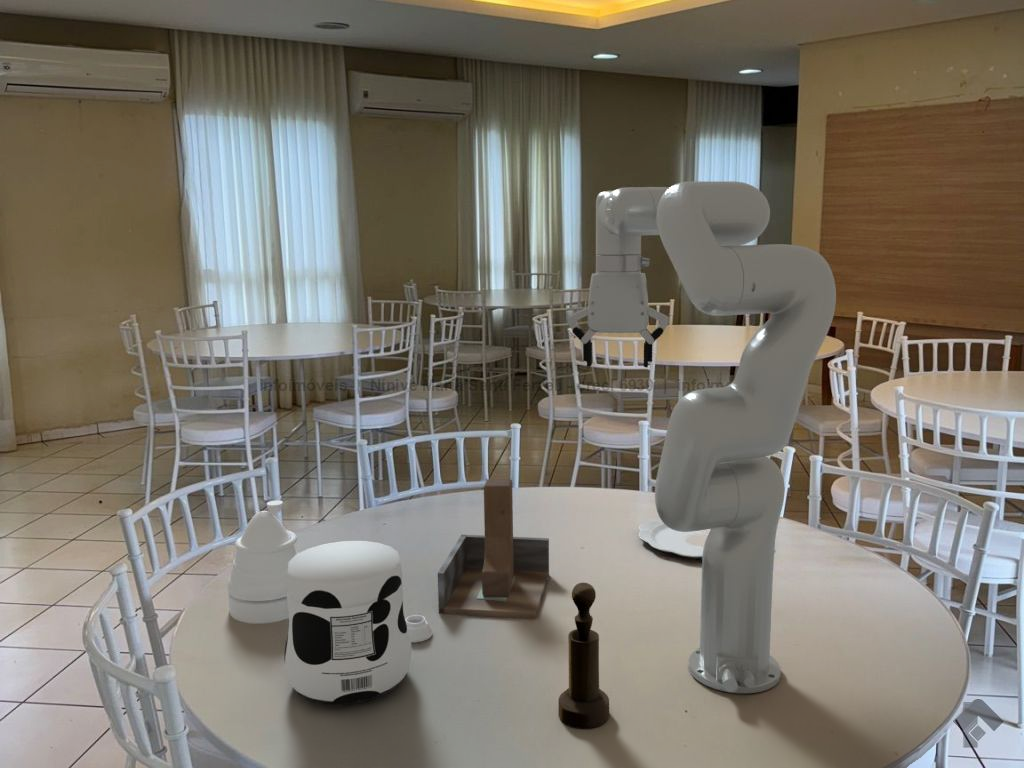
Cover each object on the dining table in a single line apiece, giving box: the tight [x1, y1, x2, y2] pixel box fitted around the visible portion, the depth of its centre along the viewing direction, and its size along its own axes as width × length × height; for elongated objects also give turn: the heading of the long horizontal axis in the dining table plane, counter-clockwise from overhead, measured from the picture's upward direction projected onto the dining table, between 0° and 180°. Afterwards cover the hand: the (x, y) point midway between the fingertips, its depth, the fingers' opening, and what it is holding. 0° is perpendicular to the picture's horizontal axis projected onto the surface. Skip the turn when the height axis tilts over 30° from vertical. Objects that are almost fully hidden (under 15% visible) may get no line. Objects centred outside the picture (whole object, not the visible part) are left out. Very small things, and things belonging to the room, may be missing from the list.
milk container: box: [283, 540, 412, 705], centre depth 122 cm, size 17×17×18 cm
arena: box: [437, 534, 550, 620], centre depth 151 cm, size 18×16×7 cm
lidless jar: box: [405, 614, 433, 643], centre depth 137 cm, size 5×3×5 cm
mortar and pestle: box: [558, 582, 610, 730], centre depth 112 cm, size 7×6×18 cm
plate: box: [638, 515, 711, 560], centre depth 175 cm, size 25×25×2 cm
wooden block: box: [482, 478, 514, 597], centre depth 150 cm, size 9×4×18 cm, turn 174°
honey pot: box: [227, 500, 299, 625], centre depth 147 cm, size 13×13×18 cm
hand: (617, 365), depth 151 cm, fingers open, 9 cm apart
